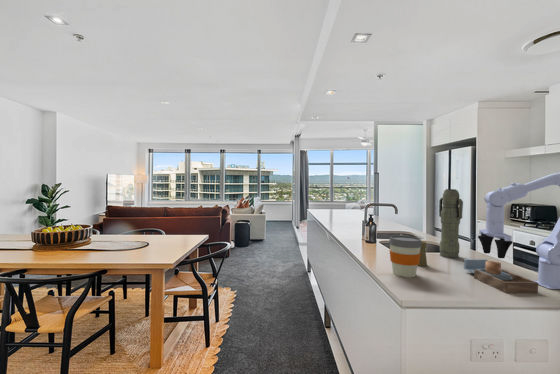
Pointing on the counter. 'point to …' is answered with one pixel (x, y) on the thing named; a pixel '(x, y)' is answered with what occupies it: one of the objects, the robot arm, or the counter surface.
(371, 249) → the counter surface
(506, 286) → the caddy
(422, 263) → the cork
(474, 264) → the tray
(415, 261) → the reusable coffee cup
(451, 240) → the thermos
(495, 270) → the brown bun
